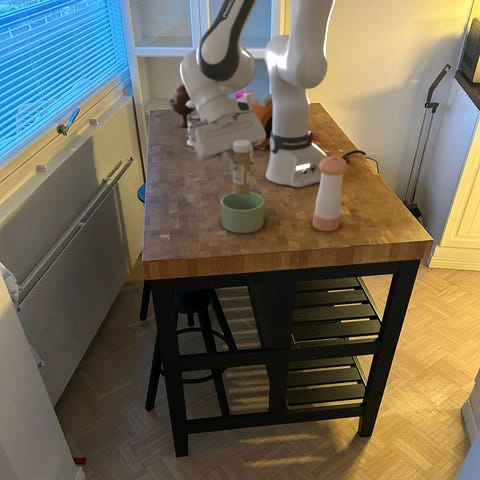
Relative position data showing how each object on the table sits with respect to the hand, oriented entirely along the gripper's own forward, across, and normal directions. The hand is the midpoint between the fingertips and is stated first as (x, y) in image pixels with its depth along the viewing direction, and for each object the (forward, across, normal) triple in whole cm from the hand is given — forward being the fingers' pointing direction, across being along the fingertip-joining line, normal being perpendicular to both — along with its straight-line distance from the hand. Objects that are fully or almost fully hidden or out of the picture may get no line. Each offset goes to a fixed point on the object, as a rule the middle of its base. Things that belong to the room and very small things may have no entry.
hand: (243, 166), depth 120 cm
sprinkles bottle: (+5, 0, +6) cm, 8 cm away
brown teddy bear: (-43, +34, +66) cm, 86 cm away
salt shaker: (+22, +17, +1) cm, 28 cm away
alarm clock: (-17, +48, +40) cm, 65 cm away
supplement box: (-34, +54, +57) cm, 86 cm away
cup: (+11, 0, +12) cm, 16 cm away
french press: (-30, +28, +53) cm, 67 cm away
